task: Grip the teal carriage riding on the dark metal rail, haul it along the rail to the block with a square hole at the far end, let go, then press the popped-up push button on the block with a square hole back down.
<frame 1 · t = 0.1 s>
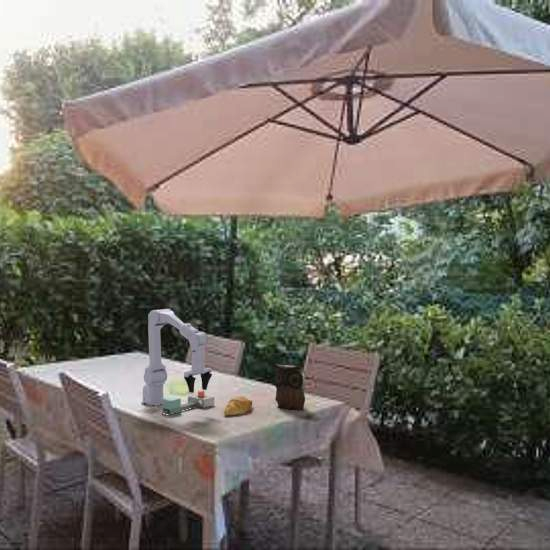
hand: (197, 391, 313), 10 cm above the table, tool pointing down, fingers open, 7 cm apart
block with square hole: (201, 405, 329), on the table
croissant: (237, 412, 318), on the table
push button: (201, 395, 328), point 5 cm above the table, slide at 0.0 cm
carriage: (171, 405, 314), point 3 cm above the table, slide at 0.0 cm
rail: (180, 410, 318), on the table
owl: (292, 407, 327), on the table
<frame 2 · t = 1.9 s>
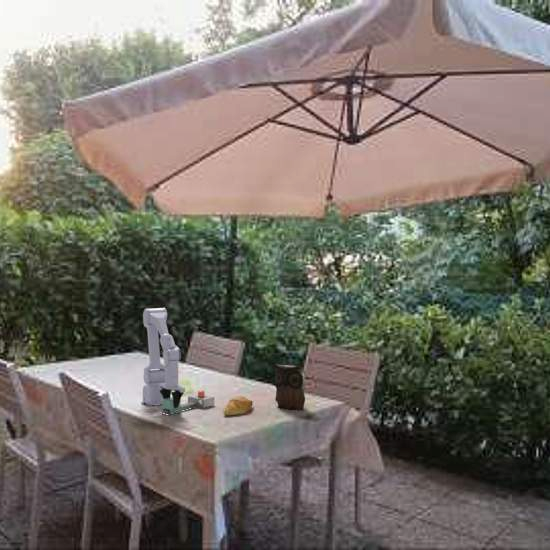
hand: (171, 406, 314), 3 cm above the table, tool pointing down, fingers closed on carriage, 5 cm apart
carriage: (171, 405, 314), point 3 cm above the table, slide at 0.0 cm, touching gripper
everything else where it was.
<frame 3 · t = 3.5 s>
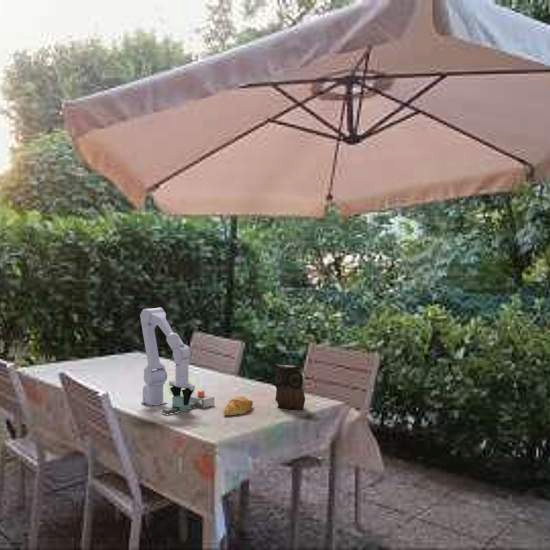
hand: (181, 403, 319), 3 cm above the table, tool pointing down, fingers closed on carriage, 5 cm apart
carriage: (181, 402, 319), point 3 cm above the table, slide at 5.9 cm, touching gripper
everything else where it was.
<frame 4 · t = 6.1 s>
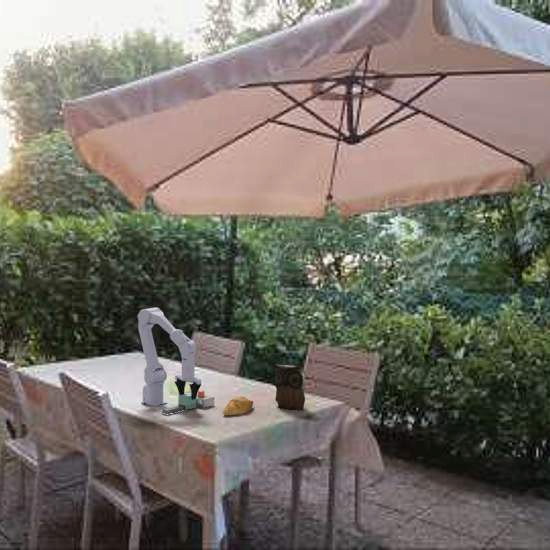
hand: (187, 397, 322), 5 cm above the table, tool pointing down, fingers open, 7 cm apart
carriage: (187, 401, 321), point 3 cm above the table, slide at 9.5 cm
everything else where it was.
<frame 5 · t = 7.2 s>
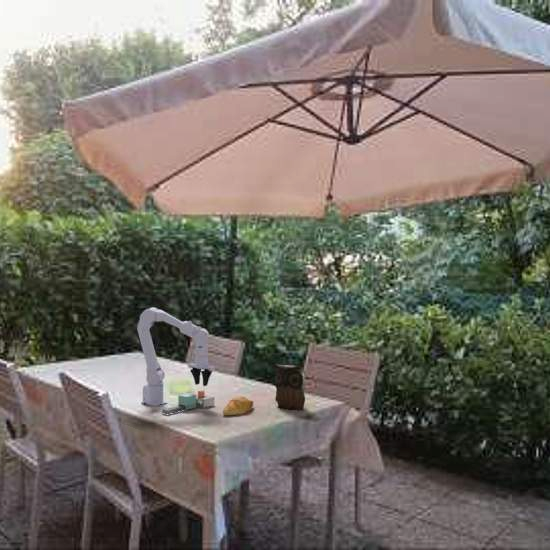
hand: (201, 385, 328), 9 cm above the table, tool pointing down, fingers open, 4 cm apart
nothing on the table moved.
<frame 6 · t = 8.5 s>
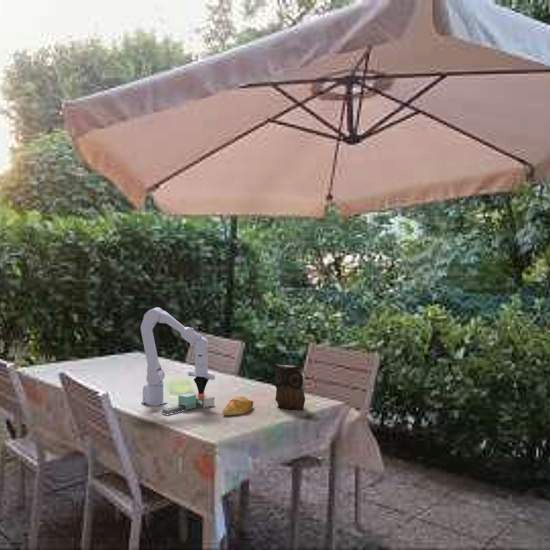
hand: (201, 393, 328), 6 cm above the table, tool pointing down, fingers closed, pressing on push button
push button: (201, 397, 328), point 4 cm above the table, slide at -0.9 cm, touching gripper
everything else where it was.
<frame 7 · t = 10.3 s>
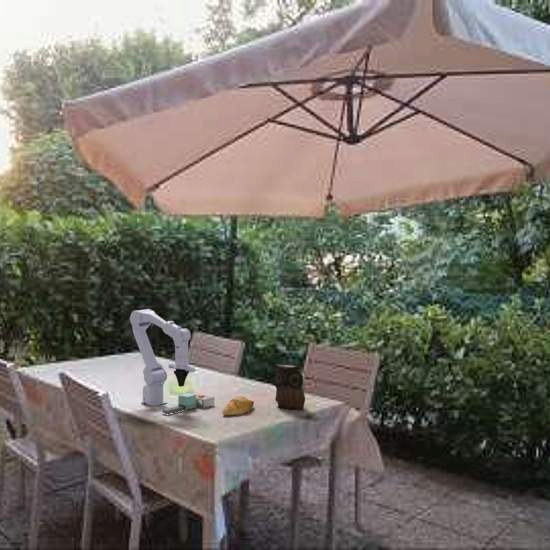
hand: (181, 386, 321), 10 cm above the table, tool pointing down, fingers closed
push button: (201, 399, 328), point 3 cm above the table, slide at -1.9 cm
everything else where it was.
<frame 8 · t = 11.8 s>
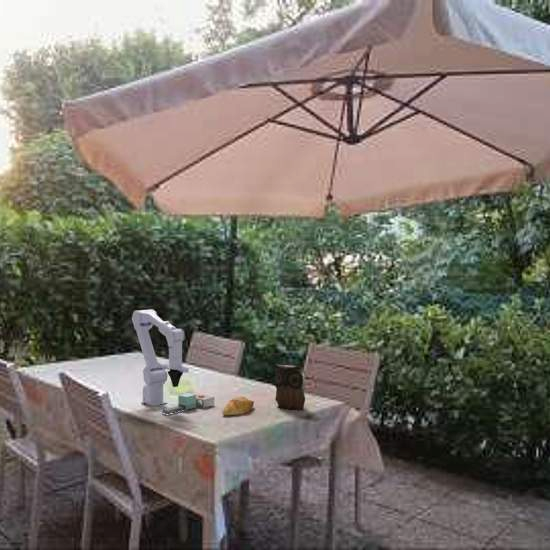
hand: (175, 386, 319), 10 cm above the table, tool pointing down, fingers closed
nothing on the table moved.
at the end: carriage slide at 9.5 cm; push button slide at -1.9 cm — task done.
